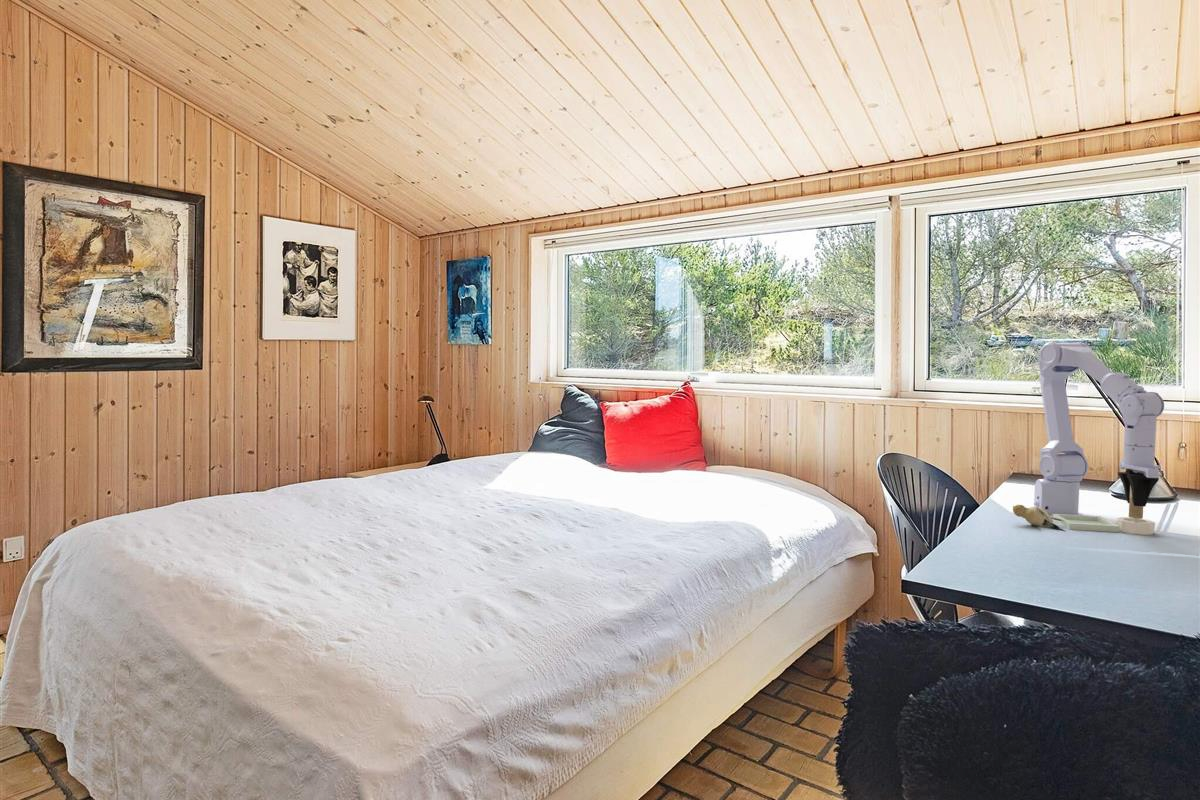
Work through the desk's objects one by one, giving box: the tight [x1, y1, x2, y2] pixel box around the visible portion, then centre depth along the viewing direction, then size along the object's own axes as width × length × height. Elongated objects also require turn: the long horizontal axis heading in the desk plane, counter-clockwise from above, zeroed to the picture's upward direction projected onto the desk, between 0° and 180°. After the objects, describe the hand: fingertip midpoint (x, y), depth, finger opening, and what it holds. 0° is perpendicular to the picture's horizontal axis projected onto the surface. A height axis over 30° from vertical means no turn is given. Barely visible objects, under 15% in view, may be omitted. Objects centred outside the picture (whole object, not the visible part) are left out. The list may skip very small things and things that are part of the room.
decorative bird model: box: [1012, 504, 1067, 532], centre depth 171 cm, size 4×13×10 cm
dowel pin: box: [1128, 485, 1144, 519], centre depth 166 cm, size 3×3×9 cm
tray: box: [1052, 514, 1120, 533], centre depth 172 cm, size 10×11×2 cm
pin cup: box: [1116, 516, 1156, 536], centre depth 167 cm, size 6×6×3 cm
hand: (1136, 504), depth 166 cm, fingers closed on dowel pin, 3 cm apart
